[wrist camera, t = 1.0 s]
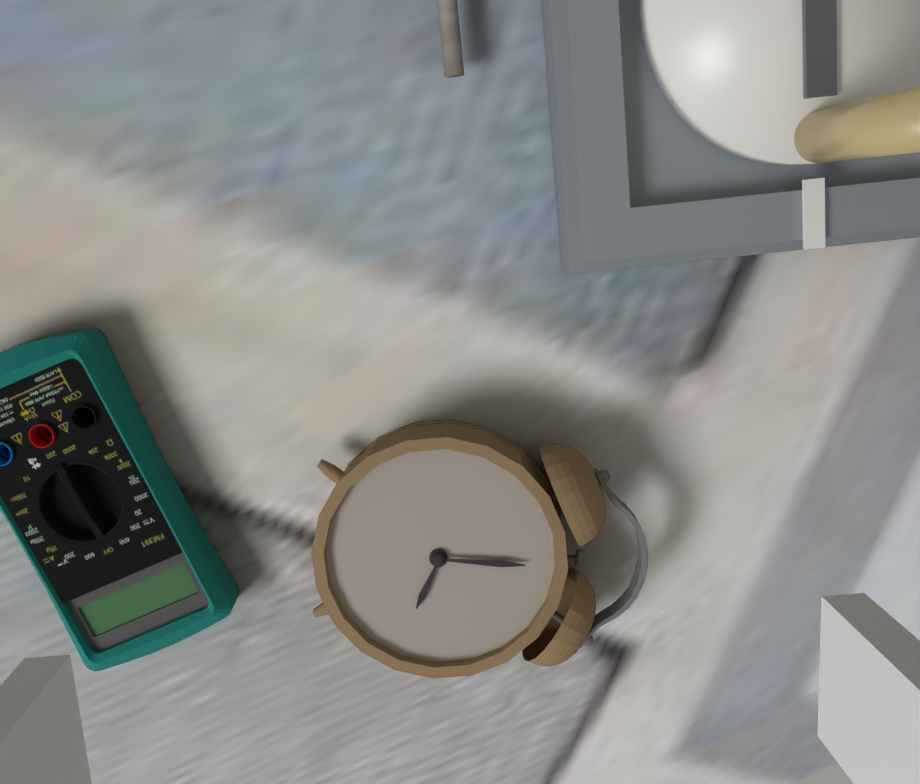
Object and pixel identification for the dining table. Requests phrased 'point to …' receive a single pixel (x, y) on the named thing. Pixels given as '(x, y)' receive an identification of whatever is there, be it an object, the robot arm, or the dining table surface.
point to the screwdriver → (450, 38)
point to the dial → (790, 75)
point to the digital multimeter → (101, 504)
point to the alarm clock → (462, 551)
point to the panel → (686, 166)
